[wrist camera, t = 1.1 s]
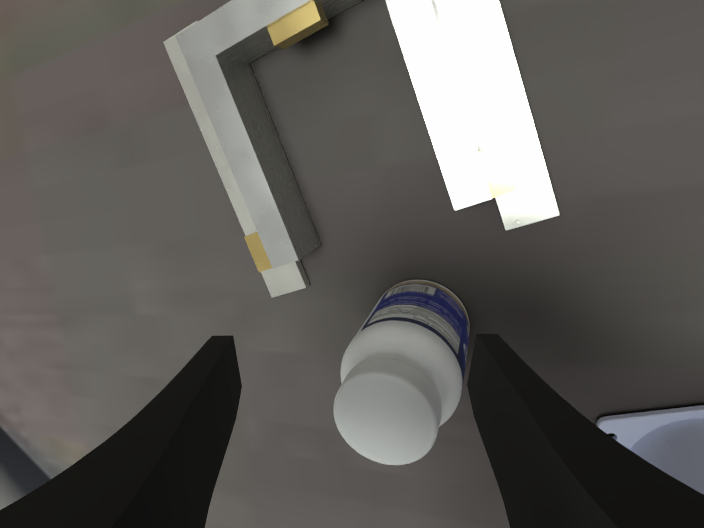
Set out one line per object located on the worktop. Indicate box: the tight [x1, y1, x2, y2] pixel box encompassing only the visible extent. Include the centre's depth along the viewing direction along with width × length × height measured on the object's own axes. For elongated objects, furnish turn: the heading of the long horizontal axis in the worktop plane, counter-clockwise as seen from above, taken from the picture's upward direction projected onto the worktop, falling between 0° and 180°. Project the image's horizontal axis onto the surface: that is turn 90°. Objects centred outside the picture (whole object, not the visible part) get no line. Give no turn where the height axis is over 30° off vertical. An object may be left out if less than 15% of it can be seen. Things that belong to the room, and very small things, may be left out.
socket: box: [163, 0, 560, 297], centre depth 21 cm, size 17×16×3 cm
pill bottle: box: [333, 280, 470, 465], centre depth 20 cm, size 5×5×9 cm
